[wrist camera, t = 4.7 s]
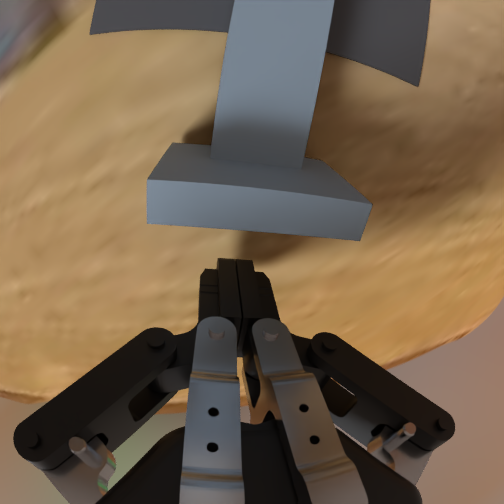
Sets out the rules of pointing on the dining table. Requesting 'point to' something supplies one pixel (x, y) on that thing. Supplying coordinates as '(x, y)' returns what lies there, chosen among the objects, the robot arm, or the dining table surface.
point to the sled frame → (262, 136)
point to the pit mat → (339, 39)
